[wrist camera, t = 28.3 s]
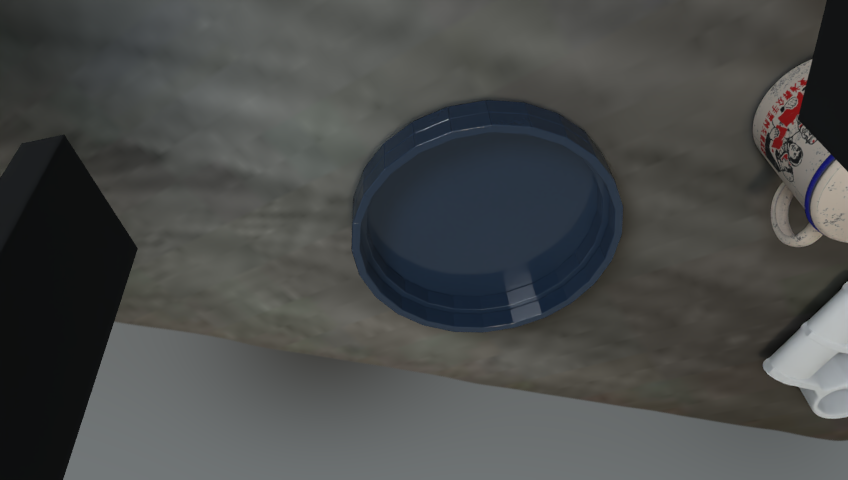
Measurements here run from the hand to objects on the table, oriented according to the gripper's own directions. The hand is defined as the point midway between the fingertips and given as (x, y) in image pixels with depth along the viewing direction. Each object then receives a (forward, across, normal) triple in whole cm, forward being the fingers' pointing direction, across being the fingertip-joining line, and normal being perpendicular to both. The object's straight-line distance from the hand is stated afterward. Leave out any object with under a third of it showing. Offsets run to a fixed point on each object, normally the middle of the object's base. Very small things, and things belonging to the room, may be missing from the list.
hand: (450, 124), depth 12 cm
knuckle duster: (+26, +35, -48) cm, 65 cm away
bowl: (+28, +2, -26) cm, 38 cm away
